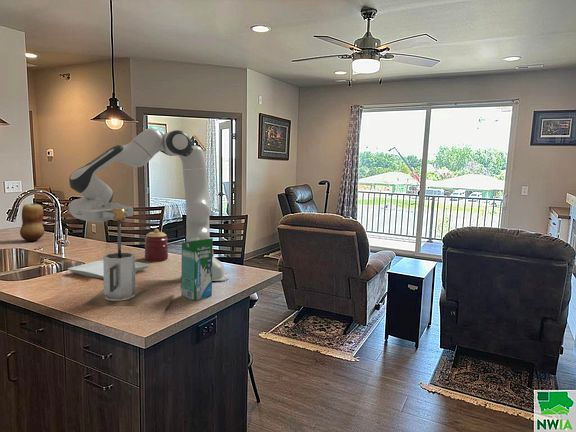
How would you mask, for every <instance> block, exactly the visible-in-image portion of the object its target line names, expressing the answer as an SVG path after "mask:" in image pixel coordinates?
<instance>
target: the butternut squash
mask: <svg viewBox="0 0 576 432" xmlns="http://www.w3.org/2000/svg"><path fill="white" fill-rule="evenodd" d="M43 207H44V206H42V204H39V203H38V204H37V203H26V204H24V205H23V207H22V210H21V221H22V224H21V228H20V230H19V234H20V237H21V239H23V240H24V241H26V242H36V241H39V239H41V238H42V237H43V236H44V234H45V227H44V225H43V219H44V208H43Z"/></svg>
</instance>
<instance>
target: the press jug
mask: <svg viewBox="0 0 576 432" xmlns="http://www.w3.org/2000/svg"><path fill="white" fill-rule="evenodd" d="M102 258H103V259H102V260H103V266H104V279H103V289H104V299H105V300H107V301H112V302H119V301H126V300H130V299H132V298H134V297H135V289H136V272H135V262H136V254H134V253H132V252H121V258H118V252H112V253H111V252H110V253H107V254H104V256H103V257H102Z"/></svg>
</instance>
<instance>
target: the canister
mask: <svg viewBox="0 0 576 432" xmlns="http://www.w3.org/2000/svg"><path fill="white" fill-rule="evenodd" d="M145 236H146V237H145V238H144V241H145V243H144V260H146V261H149V262H162V261H166V260H168V258H169V243H168V240H169V238H168V237H167V234H166V233H165V232H163V231H160V230H159V229H158V228H155V229H154V230H153V231H150V232H148V233H146V235H145Z"/></svg>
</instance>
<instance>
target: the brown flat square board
mask: <svg viewBox="0 0 576 432" xmlns="http://www.w3.org/2000/svg"><path fill="white" fill-rule="evenodd" d="M152 291H153V289H147V288H146V289H144V288H143V289H142V288H140V289H139V288H135V297H134V298H132V299H130V300H126V301H119V302H112V301H107V300H105V299H104V288H103V289H102V290H100V291H99V292H98V293H96V294H95V295H94V296H93V297H92V298H90V299H89V300H87V301H86V302H85V303H83V306H90V307H91V306H93V307H94V306H95V307H96V306H101V307H102V306H103V307H104V306H105V307H106V306H108V307H109V306H111V307H139V306H140V305H141V303H142V302H143V301H144V300H145V299H146V298H147V297H148V296H149V294H150V293H151V292H152Z"/></svg>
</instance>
